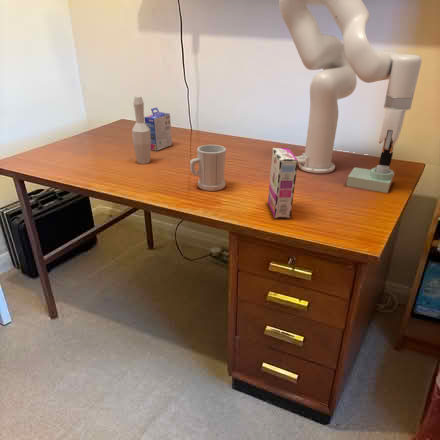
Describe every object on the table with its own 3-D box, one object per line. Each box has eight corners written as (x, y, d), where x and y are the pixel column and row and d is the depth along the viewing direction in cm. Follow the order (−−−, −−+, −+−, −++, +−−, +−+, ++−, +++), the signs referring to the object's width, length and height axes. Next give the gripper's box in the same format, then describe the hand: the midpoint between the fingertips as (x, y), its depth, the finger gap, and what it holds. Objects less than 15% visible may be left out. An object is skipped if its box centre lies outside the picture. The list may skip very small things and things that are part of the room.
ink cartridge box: (162, 143, 179) (159, 105, 171) (172, 145, 176) (170, 107, 168) (146, 148, 172) (143, 110, 164) (157, 151, 170) (154, 111, 161)
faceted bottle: (135, 164, 156) (128, 99, 143) (134, 159, 161) (128, 95, 149) (153, 163, 157) (148, 98, 145) (151, 158, 162) (146, 94, 150)
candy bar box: (292, 218, 120) (298, 159, 111) (274, 219, 120) (279, 160, 111) (283, 202, 130) (289, 147, 120) (267, 203, 129) (271, 147, 120)
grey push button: (374, 172, 138) (375, 167, 137) (376, 169, 141) (377, 163, 140) (387, 175, 137) (388, 169, 136) (389, 171, 140) (390, 165, 139)
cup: (213, 195, 134) (213, 156, 127) (188, 189, 138) (187, 151, 131) (230, 184, 141) (231, 147, 134) (207, 179, 145) (206, 142, 138)
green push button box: (346, 185, 141) (348, 170, 139) (352, 176, 149) (355, 161, 146) (387, 193, 137) (391, 177, 134) (392, 182, 144) (395, 168, 141)
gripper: (388, 97, 134) (376, 156, 145) (380, 106, 123) (367, 170, 133) (414, 99, 131) (400, 159, 142) (408, 108, 120) (393, 173, 131)
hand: (384, 164), depth 138 cm, fingers closed
